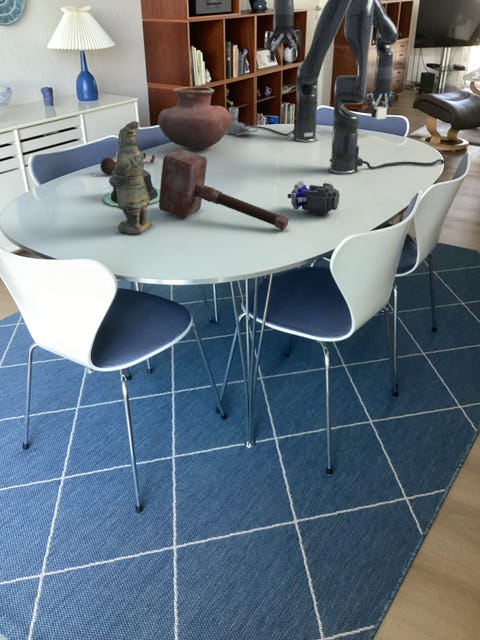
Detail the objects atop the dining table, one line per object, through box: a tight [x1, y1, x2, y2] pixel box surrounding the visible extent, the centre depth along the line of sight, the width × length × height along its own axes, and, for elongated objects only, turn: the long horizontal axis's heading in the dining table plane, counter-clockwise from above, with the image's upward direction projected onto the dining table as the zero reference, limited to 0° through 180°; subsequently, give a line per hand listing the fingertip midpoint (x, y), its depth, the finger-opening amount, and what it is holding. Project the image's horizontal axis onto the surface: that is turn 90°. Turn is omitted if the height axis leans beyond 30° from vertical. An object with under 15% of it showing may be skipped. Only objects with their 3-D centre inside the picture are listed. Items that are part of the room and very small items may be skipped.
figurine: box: [100, 149, 156, 176], centre depth 217 cm, size 13×8×25 cm
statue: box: [108, 120, 153, 235], centre depth 154 cm, size 11×9×30 cm
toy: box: [287, 180, 341, 216], centre depth 168 cm, size 9×9×15 cm
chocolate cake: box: [103, 168, 160, 207], centre depth 186 cm, size 15×19×20 cm
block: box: [370, 105, 388, 120], centre depth 254 cm, size 5×5×5 cm
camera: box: [226, 106, 259, 136], centre depth 264 cm, size 9×12×15 cm
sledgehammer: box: [158, 148, 290, 231], centre depth 163 cm, size 17×10×40 cm
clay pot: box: [157, 86, 231, 151], centre depth 238 cm, size 30×30×25 cm
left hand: (378, 117), depth 254 cm, fingers closed on block, 4 cm apart
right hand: (282, 60), depth 214 cm, fingers open, 8 cm apart
